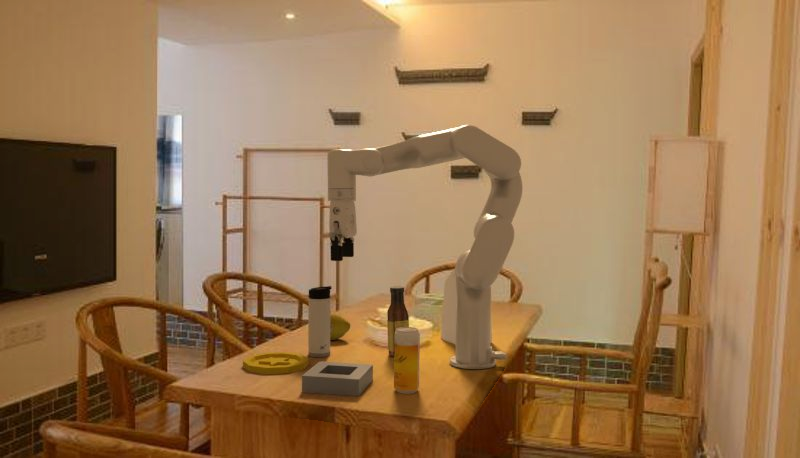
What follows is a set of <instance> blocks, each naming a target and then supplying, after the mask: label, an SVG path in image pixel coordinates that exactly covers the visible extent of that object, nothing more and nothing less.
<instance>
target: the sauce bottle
mask: <svg viewBox="0 0 800 458" xmlns="http://www.w3.org/2000/svg"><path fill="white" fill-rule="evenodd" d="M389 292H390V305H389V306H388V309H387V320H386V321H387V323H386V326H387V351H388V355H389V356H390V357H393V358H394V334H395V331H396V329H397V328H400V327H410V321H409V319H410V317H409V312H408V309H407V307H406V304H405V296H404V295H405V287H404V286H399V285H397V286H396V285H395V286H390V287H389Z"/></svg>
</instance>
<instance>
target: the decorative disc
mask: <svg viewBox="0 0 800 458" xmlns="http://www.w3.org/2000/svg"><path fill="white" fill-rule="evenodd" d="M308 365H309V358H308V357H307V356H305V355H303V354H302V353H296V352H295V353H294V352H287V351H279V352H278V351H274V352H271V351H270V352H262V353H257V354H252V355H248V356H247V357H245V359H243V360H242V368H244V370H246V371H248V372H249V373H250V372H251V373H255V374H256V373H257V374H263V375H278V373H281V374H290V372H291V373H294V371H295V372H298V370H299V371H302V370H305V368H307V366H308Z"/></svg>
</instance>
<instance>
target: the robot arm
mask: <svg viewBox="0 0 800 458" xmlns="http://www.w3.org/2000/svg"><path fill="white" fill-rule="evenodd" d="M463 159H467V160H468V161H470V162H471V163H472V164H474V165H476V166H478V167H479V168H481V169H483V170H484V171H485V173H486V175H487V176H488V178H489V179H490V184H491V185H490V187H491V188H490V190H489V194H488V197H487V200H486V202H485V205H484V207H483V209H482V211H481V213H480V216H479V217H478V219H477V222H476V223H475V225H474V227H473V236H474V241H473V243H472V246H471V248H470V249H469V250H466V251H464V252H463V253H461V254H460V255H459V256H458V258H457V260H456V264H455V267H456V271H455V272H456V345H455V355H453V356H452V357H450V358H449V364H450V365H451V366H452V367H456V368H459V369H467V370H485V369H491V368H493V367H495V365H496V362H497V361H496V360H499V361H507V353H506V352H503V351H494V350H493V346H492V345H491V343H490V327H491V328H492V285H493V284H494V283H495V281H497V278H499V277H498V276H499V275H500V273H501V270H502V268H503V266H504V264H505V261H507V257H508V256H509V252H510V251H511V248H512V246H513V243H514V240H515V229H514V226H513V224H512V223H513V220H514V218H515V216H516V213H517V211H518V208H519V205H520V204H521V203H520V202H521V199H522V195H523V181H522V180H523V179H522V177H521V173H520V170H521V166H522V159H521V156H520V155H519V153H518V152H517V151H516V150H515V149H514V148H512V147H511V146H510V145H507V144H506V143H504V142H502V141H501V140H500V139H497V138H495V136H492V135H490V133H487V132H486V131H484V130H482V129H481V128H479V127H478V126H476V125H472V124H465V125H461V126H459V127H458V126H457V127H454V128H449V129H446V130H440V131H436V132H431V133H425V134H420V135H417V136H413V137H411V138H408V139H405V140H404V141H400V142H397V143H392V144H388V145H384V146H379V147H375V148H374V147H373V148H371V147H370V148H369V147H368V148H367V147H366V148H361V149H346V148H345V149H344V148H343V149H342V148H339V149H337V148H335V149H334V148H333V149H330V150H329V151H328V152H327V201H328V202H330V205H329V220H328V221H329V225H328V226H329V236H330V237H329V240H330V242H329V244H330V245H329V246H330V261H332V262H342V261H343V260H344V259H343V258H354V256H355V253H354V252H355V248H354V242H355V239H354V238H355V236H357V233H358V232H357V213H356V212H357V210H356V204H355V201H357V192H356V191H357V180H356V177H357V176H363V177H371V178H372V177H376V176H380V175H384V174H389V173H392V172H394V173H395V172H398V171H403V170H409V169H420V168H421V169H422V168H425V167H431V166H434V165H440V164H443V163H448V162H453V161H454V162H455V161H457V160H463Z"/></svg>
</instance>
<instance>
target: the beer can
mask: <svg viewBox="0 0 800 458" xmlns="http://www.w3.org/2000/svg"><path fill="white" fill-rule="evenodd" d="M420 340H421V335H420V332H419V328H418V327H411V326H409V327H400V328H397V329H396V331H395V334H394V357H393V389H394V390H395V392H397V393H399V394H402V395H403V394H405V395H406V394H407V395H409V394H415V393H417V391H418V390H419V389H420V351H421V350H420V349H421V348H420V346H421V341H420Z"/></svg>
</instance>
